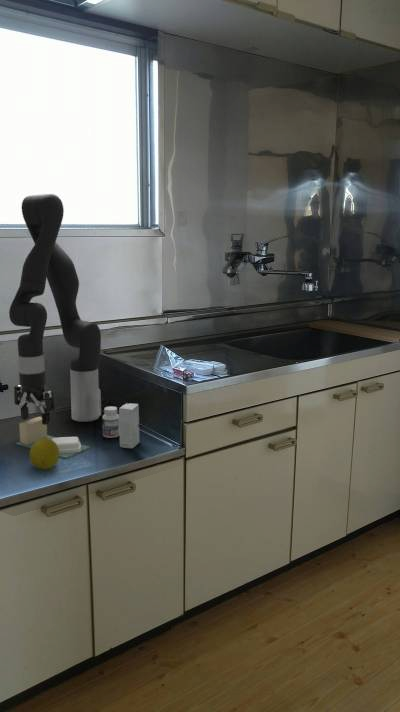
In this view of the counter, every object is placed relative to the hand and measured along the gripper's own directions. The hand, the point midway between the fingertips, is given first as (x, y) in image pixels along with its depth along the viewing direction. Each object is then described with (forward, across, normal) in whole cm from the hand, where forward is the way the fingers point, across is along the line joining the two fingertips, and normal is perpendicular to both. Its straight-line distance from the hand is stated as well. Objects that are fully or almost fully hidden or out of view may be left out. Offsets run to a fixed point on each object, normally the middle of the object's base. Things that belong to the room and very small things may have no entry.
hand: (35, 421), depth 180 cm
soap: (+6, -13, +1) cm, 14 cm away
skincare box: (+7, -25, -13) cm, 29 cm away
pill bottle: (+7, -16, -16) cm, 23 cm away
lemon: (+6, -17, +13) cm, 22 cm away
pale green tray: (+6, -8, +1) cm, 10 cm away
